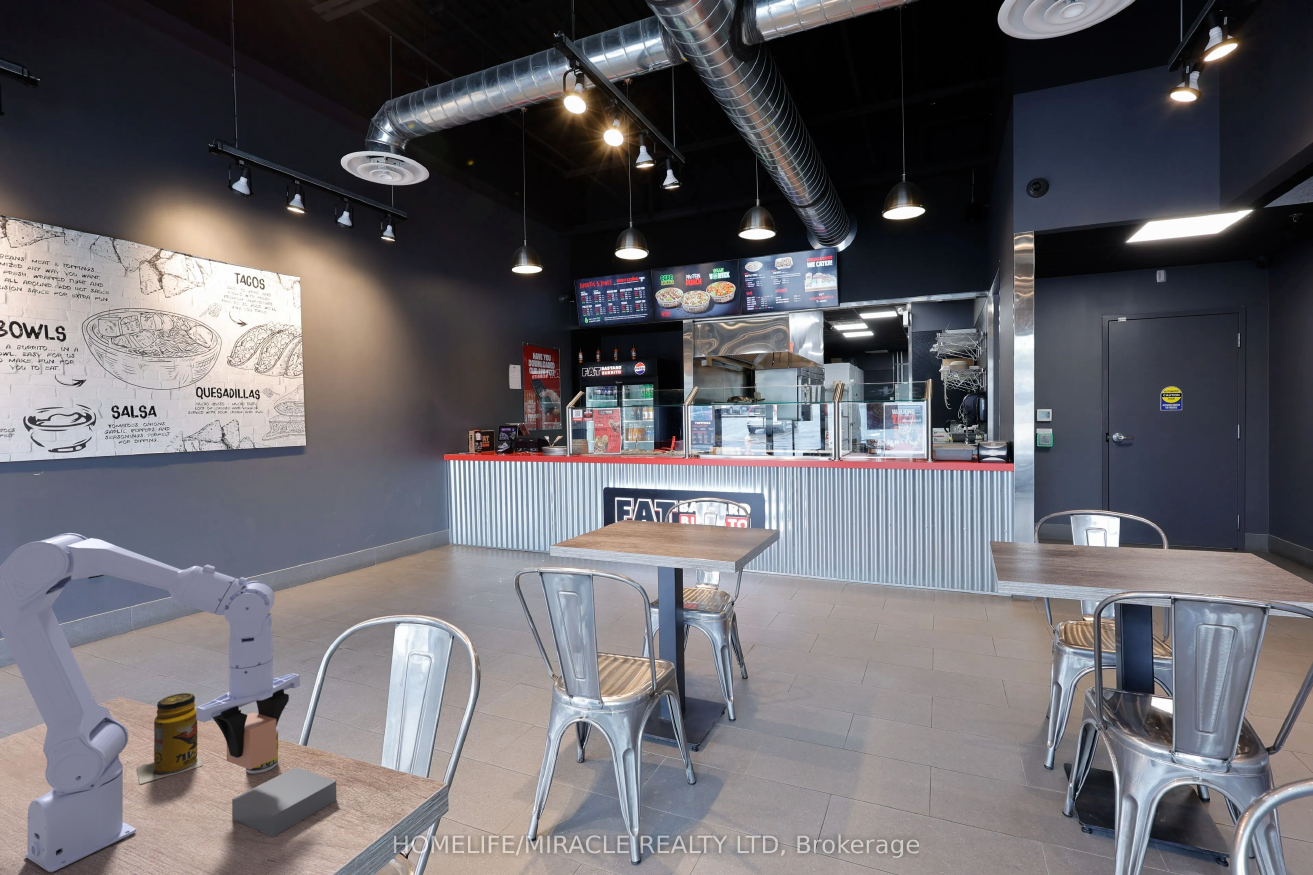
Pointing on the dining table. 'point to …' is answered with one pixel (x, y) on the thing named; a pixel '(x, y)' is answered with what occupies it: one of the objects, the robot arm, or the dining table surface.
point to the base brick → (283, 801)
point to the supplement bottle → (268, 764)
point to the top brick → (256, 741)
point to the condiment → (173, 738)
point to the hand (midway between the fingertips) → (251, 748)
